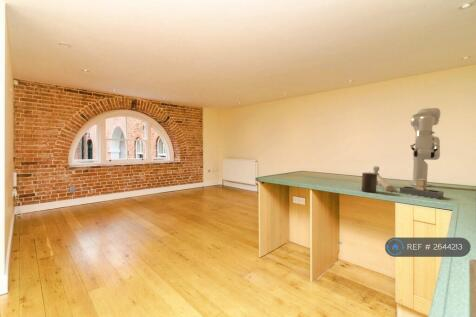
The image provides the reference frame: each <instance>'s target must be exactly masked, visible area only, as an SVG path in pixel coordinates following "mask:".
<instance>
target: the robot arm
mask: <svg viewBox="0 0 476 317" xmlns="http://www.w3.org/2000/svg"><path fill="white" fill-rule="evenodd" d="M440 117H441V110H440V108H438V107H431V108H430V107H429V108H421V109H419V110H418V111H417V113H415V114H413V115H411V117H410V125H411V127H413V130H414V132H415V135H414V136H415V140H414V141H415V142H414V143H413V144H411V145H410V148H411V150H412V157H413V159H412V160H413V166H412V167H413V168H412V169H413V170H412V182H410V183H409V185H411V186H413V187H415V186H416V182H417V179H426V187H430V184H428V169H429V168H428V167H429V165H428V163H427V162H426V161H428V160H429V161H430V160H431V161H434V160H438V159H439V158H440V157H441V139H440V138H439V136H434V134H436V133H435V131H433V126H436V125H437V126H438V124H439V122H440ZM425 160H426V161H425Z"/></svg>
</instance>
